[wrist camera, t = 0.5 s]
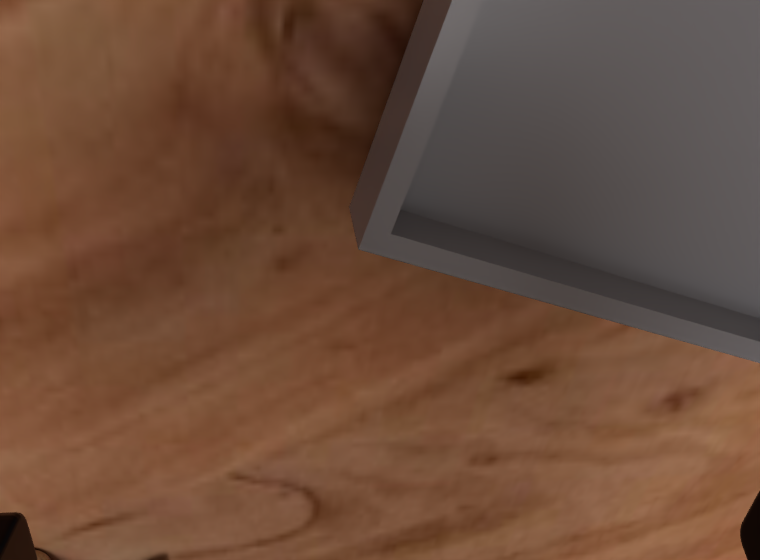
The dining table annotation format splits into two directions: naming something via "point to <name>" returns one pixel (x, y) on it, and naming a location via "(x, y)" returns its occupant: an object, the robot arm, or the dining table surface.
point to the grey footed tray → (580, 159)
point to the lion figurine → (42, 555)
